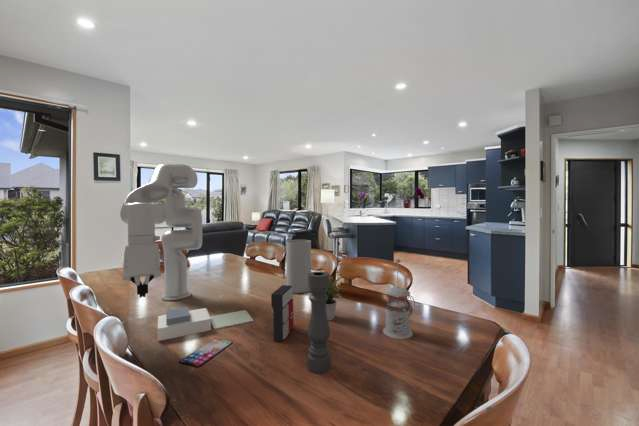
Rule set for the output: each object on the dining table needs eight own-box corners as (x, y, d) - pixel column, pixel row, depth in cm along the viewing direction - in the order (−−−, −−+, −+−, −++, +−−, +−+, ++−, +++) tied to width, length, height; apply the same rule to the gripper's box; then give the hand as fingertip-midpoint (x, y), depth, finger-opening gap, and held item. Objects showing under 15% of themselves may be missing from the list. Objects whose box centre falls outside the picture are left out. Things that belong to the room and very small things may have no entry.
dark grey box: (284, 342, 90) (284, 295, 89) (271, 340, 91) (271, 294, 90) (294, 327, 100) (294, 285, 100) (282, 326, 101) (282, 284, 101)
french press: (376, 328, 99) (376, 257, 98) (403, 323, 103) (403, 254, 103) (395, 341, 90) (395, 262, 89) (423, 334, 94) (423, 259, 94)
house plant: (354, 313, 112) (354, 272, 112) (342, 327, 100) (342, 281, 99) (321, 308, 118) (321, 269, 118) (306, 321, 106) (305, 277, 105)
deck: (158, 327, 101) (158, 316, 101) (206, 318, 109) (206, 307, 109) (157, 341, 91) (157, 328, 91) (210, 330, 98) (210, 318, 98)
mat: (209, 317, 109) (209, 316, 109) (245, 310, 116) (245, 310, 116) (213, 329, 99) (213, 328, 99) (253, 321, 106) (253, 320, 106)
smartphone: (234, 341, 90) (198, 367, 76) (234, 343, 90) (198, 369, 76) (214, 337, 92) (177, 361, 78) (214, 339, 92) (177, 364, 78)
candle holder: (307, 361, 79) (306, 271, 78) (329, 360, 79) (328, 270, 78) (308, 374, 72) (307, 277, 72) (332, 373, 73) (331, 276, 72)
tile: (166, 316, 101) (166, 310, 101) (187, 312, 104) (187, 307, 104) (166, 325, 93) (166, 319, 93) (189, 321, 97) (189, 315, 96)
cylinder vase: (310, 293, 138) (310, 242, 137) (285, 294, 138) (284, 242, 137) (311, 286, 150) (311, 239, 150) (288, 286, 151) (287, 239, 150)
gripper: (167, 238, 100) (168, 290, 100) (115, 240, 93) (116, 296, 93) (167, 240, 93) (168, 295, 94) (112, 242, 86) (113, 303, 86)
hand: (142, 296), depth 93 cm, fingers closed
